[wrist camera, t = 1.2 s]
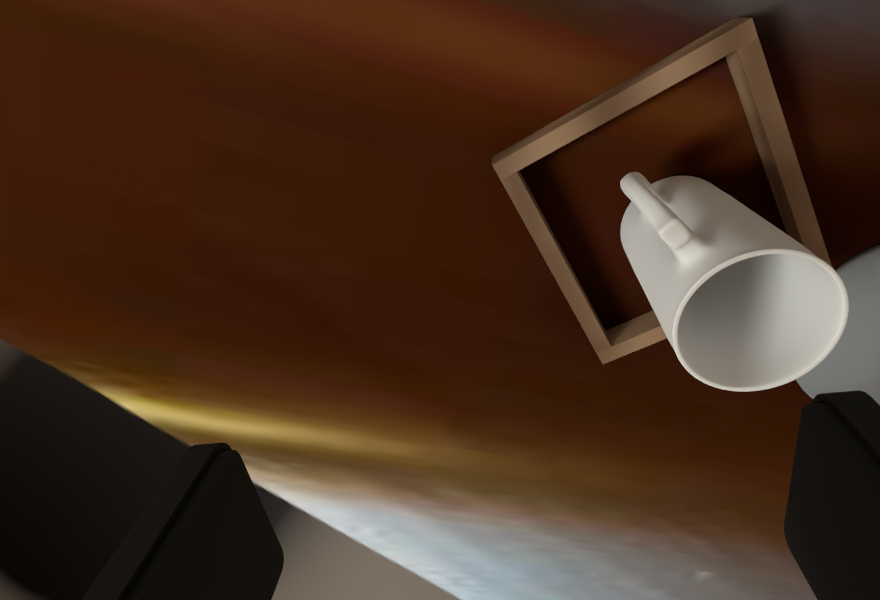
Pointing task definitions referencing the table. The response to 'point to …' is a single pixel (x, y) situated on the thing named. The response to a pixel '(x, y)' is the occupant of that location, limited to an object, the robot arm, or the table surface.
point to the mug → (729, 285)
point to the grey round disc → (854, 334)
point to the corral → (724, 41)
